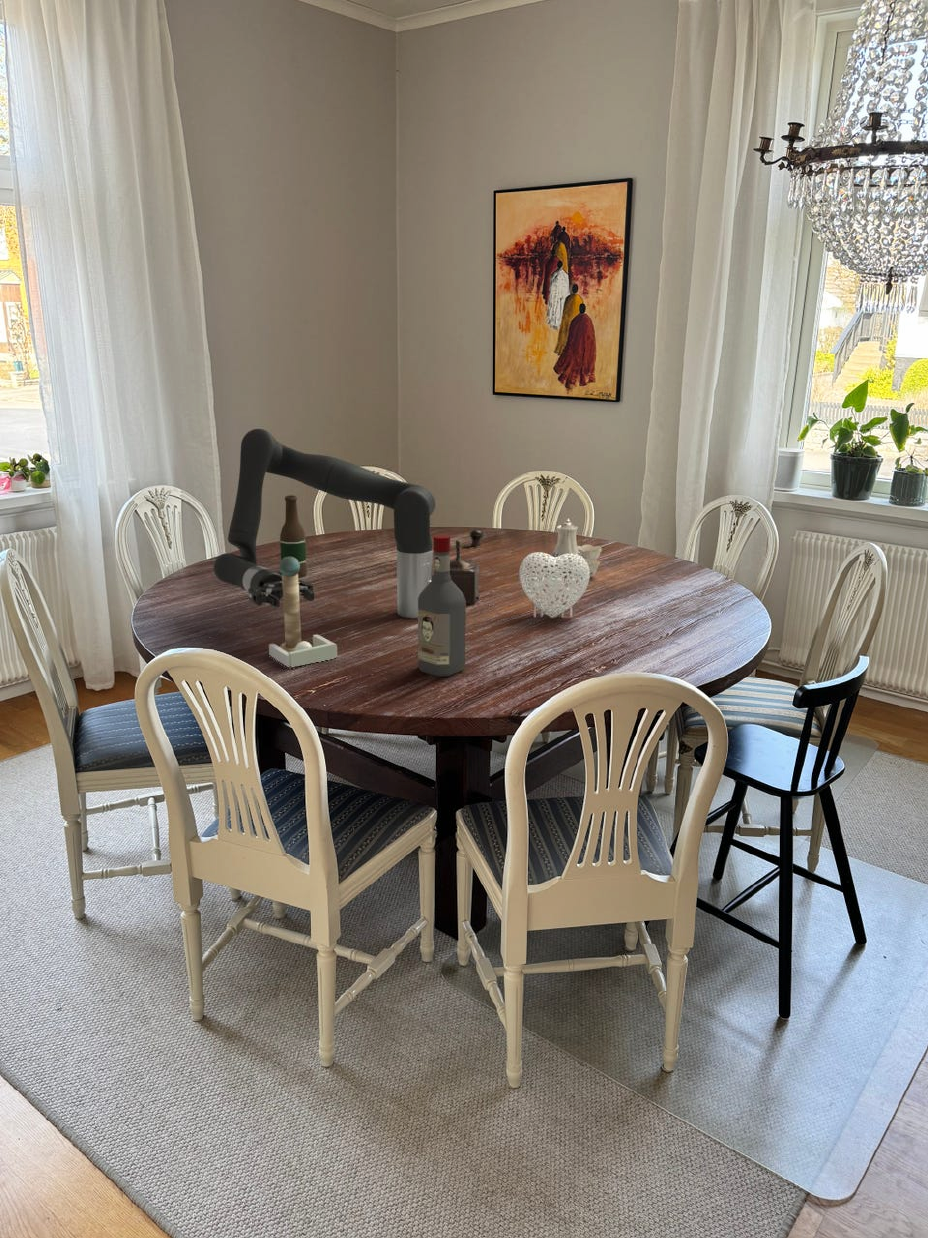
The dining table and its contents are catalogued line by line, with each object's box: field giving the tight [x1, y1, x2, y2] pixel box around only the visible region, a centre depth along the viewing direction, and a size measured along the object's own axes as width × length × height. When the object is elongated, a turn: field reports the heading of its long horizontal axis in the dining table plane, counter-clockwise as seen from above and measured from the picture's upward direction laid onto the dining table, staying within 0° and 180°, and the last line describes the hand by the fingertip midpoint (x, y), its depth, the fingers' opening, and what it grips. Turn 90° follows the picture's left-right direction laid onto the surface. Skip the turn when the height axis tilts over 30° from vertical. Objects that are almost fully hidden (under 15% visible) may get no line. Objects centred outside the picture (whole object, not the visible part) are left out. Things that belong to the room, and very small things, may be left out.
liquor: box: [417, 534, 467, 678], centre depth 203 cm, size 9×9×30 cm
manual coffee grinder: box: [450, 529, 484, 606], centre depth 259 cm, size 16×11×18 cm
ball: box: [295, 640, 313, 651], centre depth 212 cm, size 4×4×4 cm
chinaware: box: [550, 517, 603, 580], centre depth 288 cm, size 28×17×17 cm, turn 175°
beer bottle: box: [279, 494, 307, 579], centre depth 278 cm, size 8×8×24 cm
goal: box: [268, 634, 338, 667], centre depth 213 cm, size 10×12×4 cm
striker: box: [278, 557, 302, 652], centre depth 214 cm, size 6×6×23 cm
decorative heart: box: [518, 551, 591, 619], centre depth 242 cm, size 18×11×17 cm, turn 83°
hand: (295, 599), depth 212 cm, fingers open, 8 cm apart
